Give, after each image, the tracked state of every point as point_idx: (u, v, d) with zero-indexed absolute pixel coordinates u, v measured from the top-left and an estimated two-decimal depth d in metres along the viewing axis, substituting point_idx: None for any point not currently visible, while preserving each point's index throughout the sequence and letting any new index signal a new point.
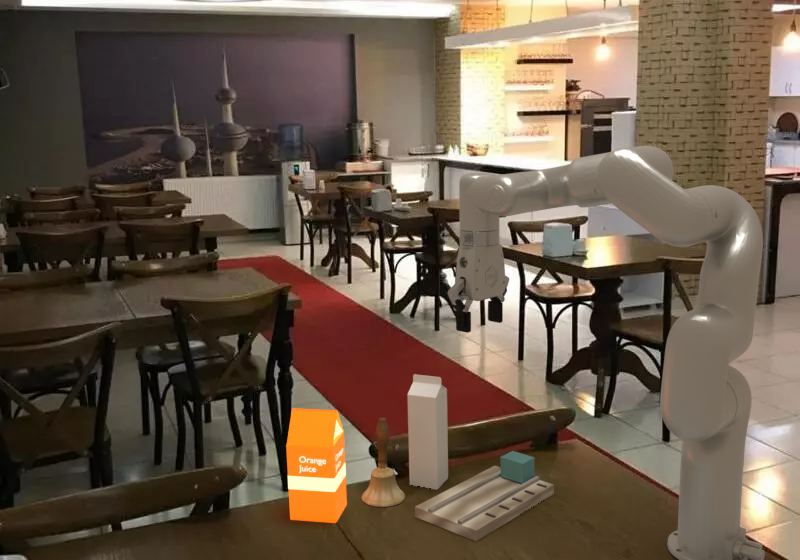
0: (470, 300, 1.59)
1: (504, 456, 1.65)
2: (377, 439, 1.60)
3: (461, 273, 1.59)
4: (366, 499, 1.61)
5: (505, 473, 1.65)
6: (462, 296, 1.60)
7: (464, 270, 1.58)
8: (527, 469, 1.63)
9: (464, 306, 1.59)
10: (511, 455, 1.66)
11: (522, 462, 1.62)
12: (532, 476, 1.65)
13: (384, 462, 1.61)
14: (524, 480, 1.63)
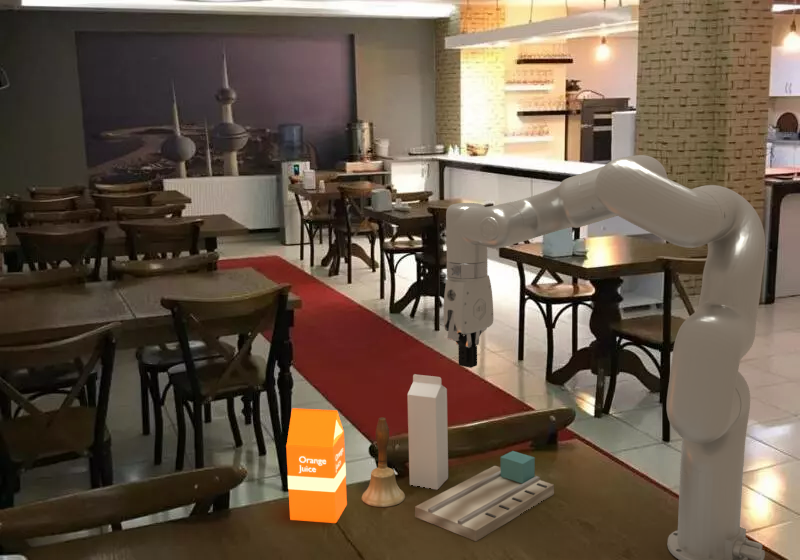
0: (468, 335, 1.58)
1: (504, 456, 1.65)
2: (377, 439, 1.60)
3: (449, 306, 1.55)
4: (366, 499, 1.61)
5: (505, 473, 1.65)
6: None
7: (452, 303, 1.55)
8: (527, 469, 1.63)
9: (466, 344, 1.58)
10: (511, 455, 1.66)
11: (522, 462, 1.62)
12: (532, 476, 1.65)
13: (384, 462, 1.61)
14: (524, 480, 1.63)
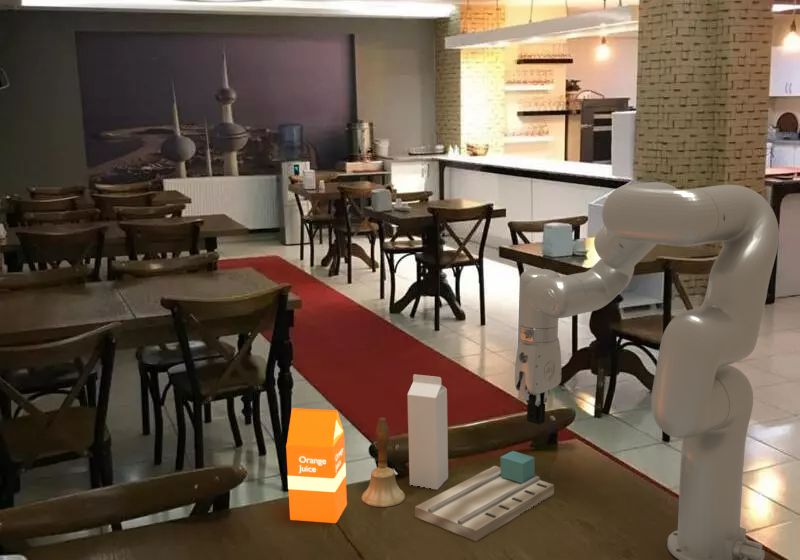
0: (537, 394, 1.66)
1: (504, 456, 1.65)
2: (377, 439, 1.60)
3: (520, 368, 1.63)
4: (366, 499, 1.61)
5: (505, 473, 1.65)
6: None
7: (524, 365, 1.63)
8: (527, 469, 1.63)
9: (536, 403, 1.66)
10: (511, 455, 1.66)
11: (522, 462, 1.62)
12: (532, 476, 1.65)
13: (384, 462, 1.61)
14: (524, 480, 1.63)
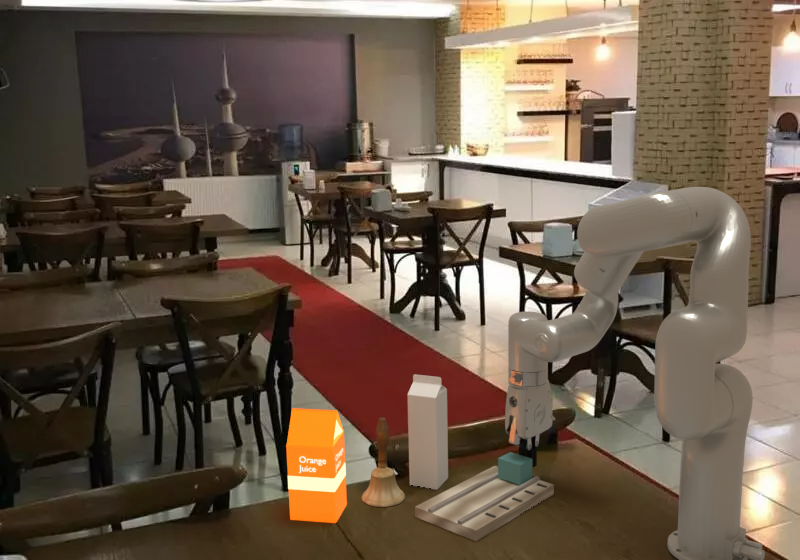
0: (528, 438, 1.64)
1: (502, 457, 1.65)
2: (377, 439, 1.60)
3: (510, 412, 1.62)
4: (366, 499, 1.61)
5: (503, 474, 1.64)
6: None
7: (514, 409, 1.61)
8: (525, 471, 1.62)
9: (527, 446, 1.65)
10: (509, 456, 1.65)
11: (520, 463, 1.62)
12: (530, 477, 1.64)
13: (384, 462, 1.61)
14: (522, 481, 1.62)
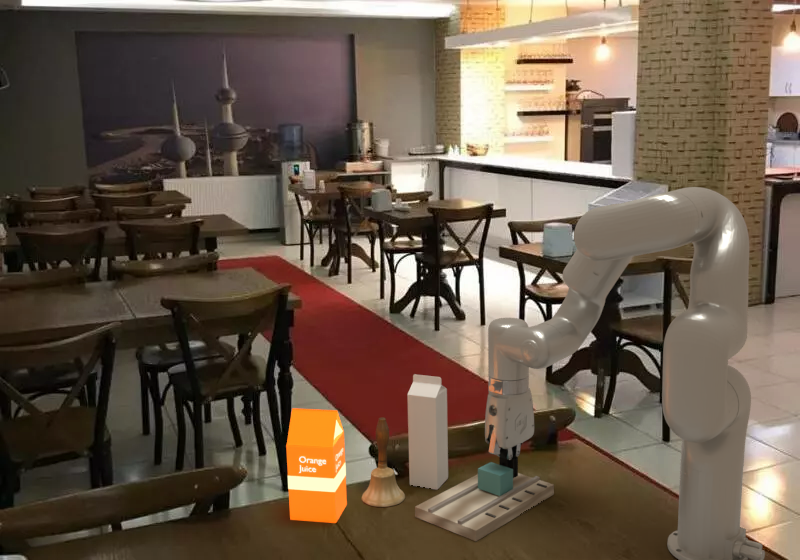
0: (509, 448, 1.60)
1: (481, 467, 1.60)
2: (377, 439, 1.60)
3: (490, 421, 1.58)
4: (366, 499, 1.61)
5: (483, 485, 1.60)
6: None
7: (494, 418, 1.57)
8: (505, 481, 1.58)
9: (507, 456, 1.60)
10: (489, 466, 1.61)
11: (500, 474, 1.57)
12: (510, 488, 1.59)
13: (384, 462, 1.61)
14: (502, 492, 1.58)
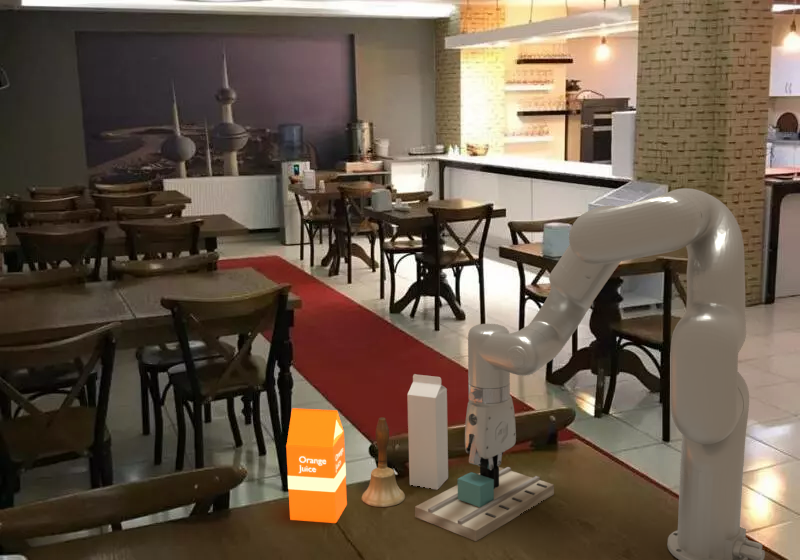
0: (490, 458, 1.56)
1: (461, 478, 1.56)
2: (377, 439, 1.60)
3: (470, 430, 1.53)
4: (366, 499, 1.61)
5: (463, 496, 1.55)
6: None
7: (474, 427, 1.53)
8: (485, 492, 1.54)
9: (488, 466, 1.56)
10: (469, 477, 1.56)
11: (480, 485, 1.53)
12: (491, 499, 1.55)
13: (384, 462, 1.61)
14: (482, 504, 1.53)
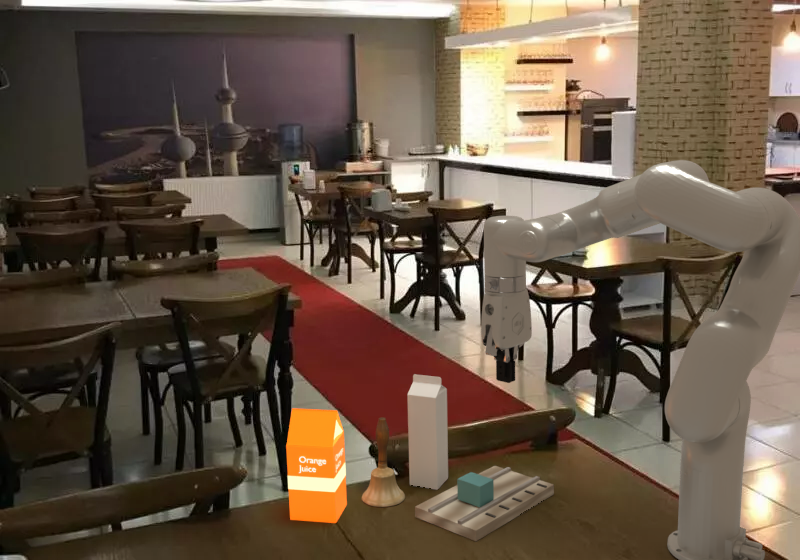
0: (506, 350, 1.55)
1: (461, 478, 1.56)
2: (377, 439, 1.60)
3: (486, 321, 1.53)
4: (366, 499, 1.61)
5: (463, 496, 1.55)
6: None
7: (490, 318, 1.52)
8: (485, 492, 1.54)
9: (504, 359, 1.56)
10: (469, 477, 1.56)
11: (479, 485, 1.53)
12: (491, 499, 1.55)
13: (384, 462, 1.61)
14: (482, 504, 1.53)
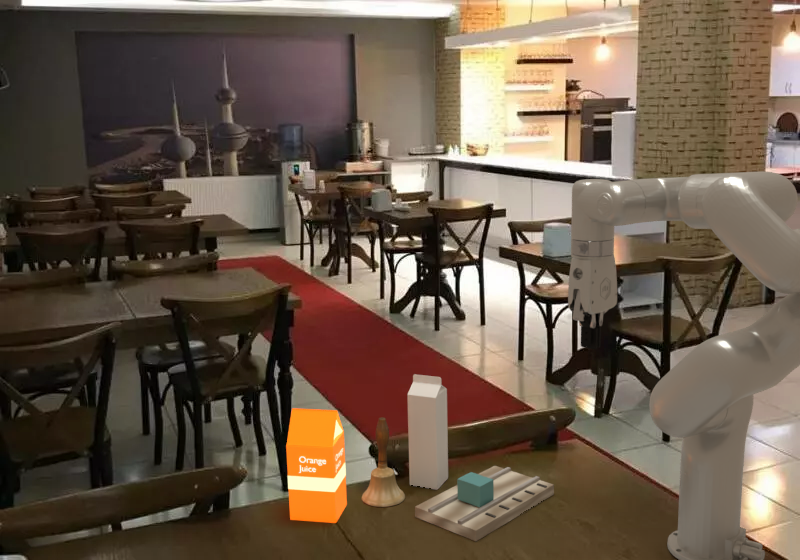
0: (593, 315, 1.53)
1: (461, 478, 1.56)
2: (377, 439, 1.60)
3: (574, 285, 1.51)
4: (366, 499, 1.61)
5: (463, 496, 1.55)
6: None
7: (579, 282, 1.50)
8: (485, 492, 1.54)
9: (591, 324, 1.54)
10: (469, 477, 1.56)
11: (479, 485, 1.53)
12: (491, 499, 1.55)
13: (384, 462, 1.61)
14: (482, 504, 1.53)
